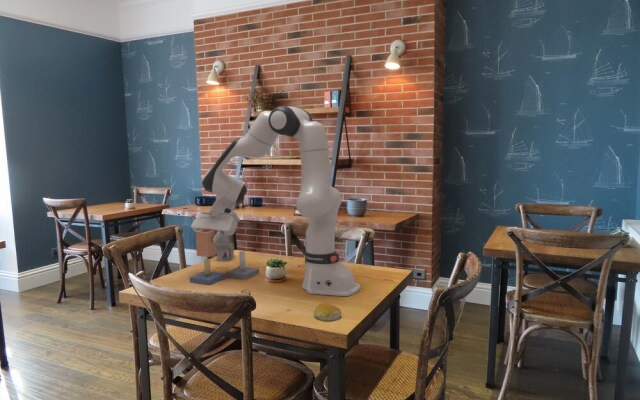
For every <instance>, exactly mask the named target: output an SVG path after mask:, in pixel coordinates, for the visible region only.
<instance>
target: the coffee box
mask: <svg viewBox="0 0 640 400" xmlns="http://www.w3.org/2000/svg"><path fill="white" fill-rule="evenodd" d="M234 247H235V245H234V234H233V235H222V236H221V237H220V238H219V239H217V241H216V252H217V254H216V261H217V262H230V261H232V259H233V258H234V257H235V251H234V250H235V249H234Z"/></svg>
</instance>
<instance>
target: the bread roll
mask: <svg viewBox="0 0 640 400" xmlns="http://www.w3.org/2000/svg"><path fill="white" fill-rule="evenodd" d="M313 309H314V310H313V316H314V318H315V319H319V320H320V321H322V322H323V321H324V322H332V321H336V320H338V319H340V317H341V314H342V311H341V309H340V308H339V307H337V306H336V305H332V304H331V303H330V302H329V303H328V302H321V303H319V304H318V305H317V306H315V307H314V308H313ZM331 320H332V321H331Z"/></svg>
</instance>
